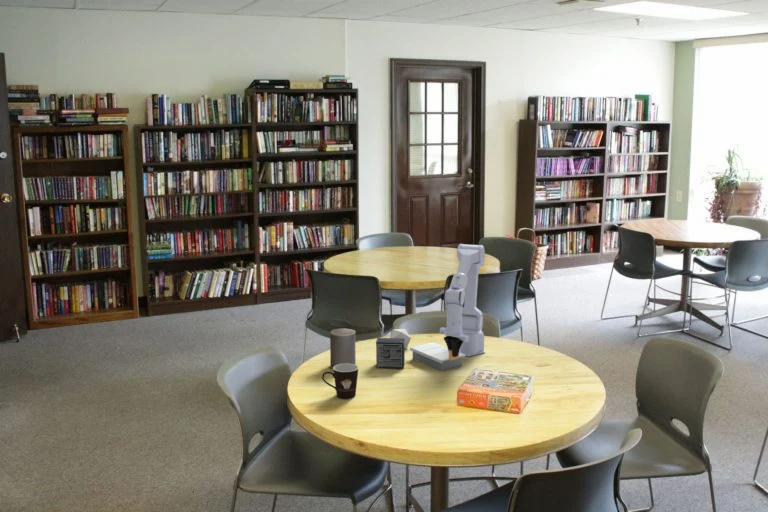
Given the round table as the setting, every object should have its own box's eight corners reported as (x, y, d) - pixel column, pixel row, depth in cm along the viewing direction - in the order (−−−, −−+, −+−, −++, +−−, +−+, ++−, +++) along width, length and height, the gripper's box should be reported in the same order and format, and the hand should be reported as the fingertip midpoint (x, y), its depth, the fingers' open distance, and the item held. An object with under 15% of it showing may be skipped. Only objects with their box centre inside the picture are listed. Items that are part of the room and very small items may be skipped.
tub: (432, 354, 301) (432, 344, 301) (462, 366, 287) (462, 356, 286) (412, 358, 296) (412, 349, 295) (441, 371, 281) (441, 361, 281)
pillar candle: (325, 365, 288) (324, 327, 285) (346, 360, 294) (346, 323, 291) (339, 372, 280) (339, 333, 278) (361, 367, 286) (360, 329, 283)
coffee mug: (362, 392, 260) (362, 365, 258) (353, 401, 252) (353, 373, 250) (331, 388, 264) (330, 361, 262) (321, 397, 256) (320, 369, 254)
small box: (405, 363, 290) (405, 337, 288) (403, 369, 284) (403, 342, 282) (377, 362, 291) (377, 336, 289) (375, 368, 285) (375, 341, 283)
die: (405, 354, 304) (416, 332, 306) (387, 343, 303) (398, 322, 306) (401, 355, 312) (411, 334, 314) (383, 345, 311) (393, 324, 313)
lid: (433, 345, 302) (433, 334, 301) (466, 358, 286) (466, 347, 285) (410, 350, 295) (410, 339, 294) (442, 363, 279) (442, 353, 278)
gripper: (433, 318, 283) (433, 352, 286) (458, 326, 272) (458, 362, 274) (448, 315, 287) (447, 349, 290) (473, 323, 276) (472, 359, 278)
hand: (453, 355), depth 282 cm, fingers closed on lid
